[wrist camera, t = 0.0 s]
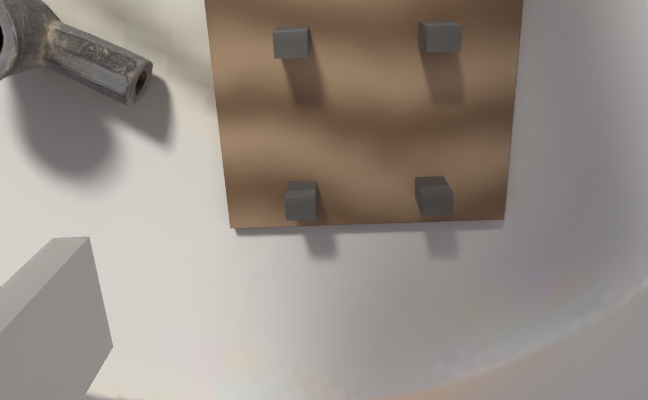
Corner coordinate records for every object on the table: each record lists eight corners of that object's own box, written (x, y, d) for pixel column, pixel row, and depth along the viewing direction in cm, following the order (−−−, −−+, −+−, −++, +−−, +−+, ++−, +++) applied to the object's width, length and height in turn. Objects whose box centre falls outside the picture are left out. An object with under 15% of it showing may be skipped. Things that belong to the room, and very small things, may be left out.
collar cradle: (207, -4, 36) (191, -1, 32) (519, -17, 36) (544, -16, 31) (232, 222, 42) (221, 249, 38) (499, 213, 41) (518, 240, 37)
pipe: (142, 113, 39) (98, 146, 32) (-42, 40, 37) (-135, 56, 30) (167, 30, 37) (127, 43, 30) (-27, -52, 35) (-122, -60, 28)
